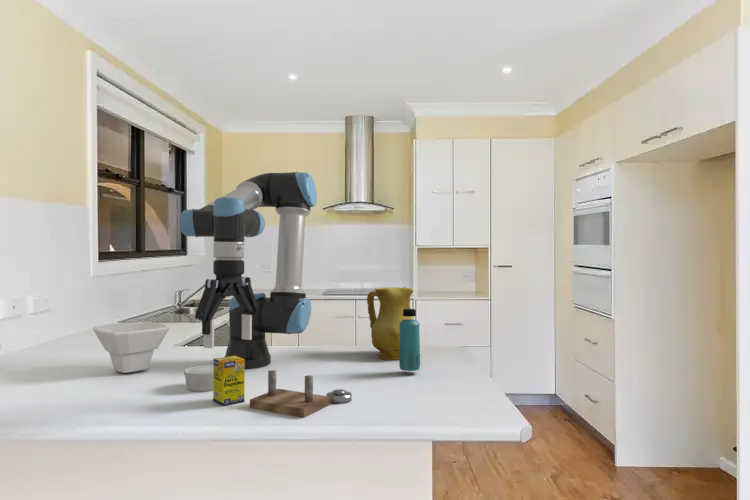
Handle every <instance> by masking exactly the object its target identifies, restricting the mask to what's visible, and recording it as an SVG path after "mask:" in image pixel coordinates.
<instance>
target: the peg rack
mask: <svg viewBox="0 0 750 500" xmlns="http://www.w3.org/2000/svg"><path fill="white" fill-rule="evenodd" d="M267 371H268V372H267V373H268V374H267V376H268V377H267V383H268V384H267V385H268V386H267V390H268V391H267V392H266V393H263V394H260V395H258V396H255V397H252V398H250V399H249V408H250V409H254V410H260V411H265V412H271V413H277V414H283V415H288V416H294V417H299V418H307V417H309V416H310V415H312V414H315V413H317V412H318V411H320V410H322V409H324V408H326V407H328V406H330V405H331V403H330V397H328V396H327V395H320V394H315V393H314V375H311V374H309V375H304V392H302V391H295V390H289V389H283V388H277V370H275V369H273V370H267Z"/></svg>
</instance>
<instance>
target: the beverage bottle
mask: <svg viewBox="0 0 750 500" xmlns="http://www.w3.org/2000/svg"><path fill="white" fill-rule="evenodd" d="M416 311H417V310H416V309H415V308H410V309H403V316H408V317H412V316H413V317H416V316H417V312H416ZM399 325H400V346H399V347H400V350H399V351H400V353H399V370H401V371H405V372H414V371H419V370H420V368H421V345H420V342H421V339H420V325H421V324H420V322H419V321H418V320H417V319H415V318H413V319H404V320H402V321H401V322H400V324H399Z"/></svg>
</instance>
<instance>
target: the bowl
mask: <svg viewBox="0 0 750 500" xmlns="http://www.w3.org/2000/svg"><path fill="white" fill-rule="evenodd" d="M92 330H93V332H94V333H95V336H96V337H97V339H98V340H99V342H100V344H101V345H102V347H103V349H104V351H106V352H108V353H109V356H110V360H111V363H112V366H113V369H114V370H115V371H117V372H119V373H123V374H126V373H134V372H140V371H145V370H149V367H150V364H151V362H152V358H153V354H154V351H155V350H158V349H159V347H160V345H161V344H162V342H163V341H164V339H165V337H166V335H167V333H168V331H169V330H170V327H169V326H168V325H166V324H164V323H160V322H153V321H134V322H124V323H123V322H122V323H114V324H113V323H112V324H106V325H97V326H93V328H92Z"/></svg>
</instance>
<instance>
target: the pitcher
mask: <svg viewBox="0 0 750 500" xmlns="http://www.w3.org/2000/svg"><path fill="white" fill-rule="evenodd" d="M413 293H414V289H413V288H410V287H406V286H404V287H397V286H396V287H395V286H394V287H392V286H391V287H388V286H387V287H376V288H375V289H374V290H372V291H370V292H368V294H367V296H366V304H367V313H368V315H369V316H368V319H369V323H370V324H369V326H370V329H371V342H372V345H373V346H372V347H374V348H375V349H376V350H377V351H379V352H380V354H378V355H377V358H379V359H382V360H387V361H390V360H391V361H397V360H399V353H400V351H399V350H400V347H399V346H400V325H399V324H400V322H401V321H402V320H404V319H414V316H412V317H408V316H403V309H411V296H412V294H413ZM375 297H377V298H378V300H379V310H378V315H377V313H376V309H375Z"/></svg>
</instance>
